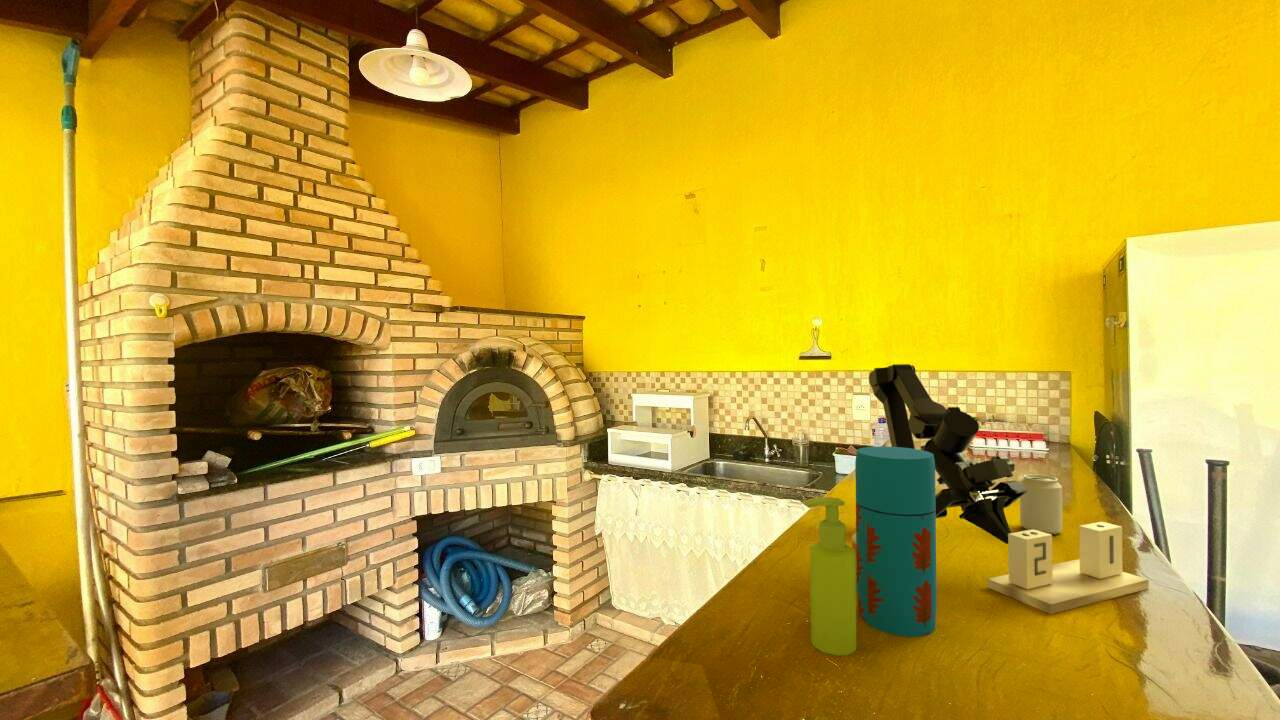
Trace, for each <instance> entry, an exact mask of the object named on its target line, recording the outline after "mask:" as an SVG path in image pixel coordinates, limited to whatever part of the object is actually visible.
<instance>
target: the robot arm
mask: <svg viewBox="0 0 1280 720" xmlns="http://www.w3.org/2000/svg"><path fill="white" fill-rule="evenodd" d="M868 383H869V386H870V387H871V389H872V392H873V396H875V398H876V399H877V400H878V401H879V402H880V403H881V404H882V406H883V410H884V415H885V421H886V425H887V426H886V427H887V429H888V430H887V431H888V435H889V440H890V445H891V446H890V447H902V448H911V449H916V447H915V443H914V438H916V440H917V439H918V440H927V441H926V443H925V445H921V446H920V450H923V451H927V452H930V453H932V454H933V455H934V461H935V473H937V475H938V476H939V478H938V477H937V479H936V481H937V482H938V484H939V485H946V486H947V488H943V489H941V490H940V491H938V492H937V493H936V494H935V496H936V519H942V518H945V517H947V515H948V509H949V508H956V507H960V510H961V511H962V513H960V515H958V517H959V518H960V520H963V519H964V520H966V522H968V523H970V524H973V525H974V526H976V527H978V528H980V529H981V530H983V531H985V532H986V533H988V534H990V535H991V536H993V537H995V538H996V539H998V540H999V541H1001V542H1002V543H1003V544H1006V545H1008V534H1010V533H1012V531H1011V529H1010V526H1009V523H1008V520H1007V518H1006V514H1005V509H1006V508H1008V507H1010V506H1011V505H1012V504H1013V503H1015V502H1016V501H1017V500H1020V497H1021V496H1023V495H1024V494H1025V493H1027V492H1028V490H1027V489H1026V488H1025V487H1024V486H1023V484H1022V483H1021V482H1020V481H1019V480H1018V481H1017V480H1014V479H1013V480H1006V481H1000V482H998V483H997V482H996V480H1000V479H1004V478H1011V477H1014V474H1013V473H1014V471H1015V470H1016V468H1015V466H1016V464H1015V463H1014V462H1013V461H1012V460H1011V459H1010V458H1009V457H1008V456H1006V454H999V455H997V456H993V457H991V458H990V459H988V460H984V461H981V462H977V461H975V460H969V459H968V458H967V457H966V456H965V454H963V452H965V451H966V450H967V449H968V447H969V445H970V444H971V443H972V441H973V440H974V439H975V437H976V435H977V433H979V430H980V425H979V422H978V420H977V419H975V418H974V417H973V416H972V415H970V414H969V413H966V412H964V411H962V410H961V407H959V406H948V407H947V408H946V407H945V406H944V405H943V404H940V403H938V402H936V401H934V400H933V399H932V397H931V396H930V394H929V393H928V391H927V389H926V388H925V386H924V385H923V383H922V382H921V380H920V378H919V376H918V375H917V374H916V367H915V365H911V364H910V363H909V364H908V363H904V364H903V363H901V364H899V363H898V364H897V363H896V364H895V363H894V364H891V365H888V366H885V367H874V369H873V370H872V371H870V373H869V375H868ZM907 409H908V411H909V414H910V415H909V416H908V411H907ZM996 483H997V484H996ZM995 484H996V485H995ZM994 485H995V486H994ZM993 486H994V487H993ZM991 487H993V488H991ZM990 488H991V489H990Z"/></svg>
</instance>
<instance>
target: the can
mask: <svg viewBox="0 0 1280 720" xmlns="http://www.w3.org/2000/svg"><path fill="white" fill-rule="evenodd" d="M1022 477H1023V478H1022V480H1020V481H1019V482H1021V483H1022V484H1023V486H1024V487H1025V488H1026V489H1027V490H1028V492H1027V493H1025V494H1024V495H1023V496H1021V497H1020V498H1019V515H1020V516H1019V524H1020V525H1021V526H1022V527H1023V528H1024V530H1026V529H1027V530H1032V529H1034V530H1037V531H1041V532H1044V533H1048V534H1054V535H1057V534H1058V533H1060V532H1062V531H1063V487H1062V485H1061V484H1060V483H1059V482H1058V481H1059V479H1058V478H1057V477H1056V476H1049V475H1045V474H1029V473H1028V474H1024V475H1023V476H1022Z"/></svg>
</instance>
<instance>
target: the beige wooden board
mask: <svg viewBox="0 0 1280 720" xmlns="http://www.w3.org/2000/svg"><path fill="white" fill-rule="evenodd" d="M1052 581H1053V583H1052V584H1048V585H1043V586H1039V587H1035V588H1031V589H1025V588H1023V587H1020V586H1018V585H1015V584H1013V583H1010V582H1009V573H1008V574H1003V575H999V576H994V577H990V578H987V588H989V589H991V590H993V591H996V592H998V593H1000V594H1003V595H1005V596H1007V597H1010V598H1012V599H1014V600H1016V601H1019V602H1021V603H1023V604H1026V605H1029V606H1030V607H1033V608H1036V609H1038V610H1040V611H1042V612H1045V613H1046V614H1050V615H1053V614H1056V613H1057V614H1058V613H1060V612H1061V613H1062V612H1064V611H1069V610H1072V609H1076V608H1079V607H1083V606H1087V605H1092V604H1095V603H1099V602H1104V601H1107V600H1110V599H1114V598H1119V597H1122V596H1125V595H1126V596H1127V595H1129V594H1133V593H1137V592H1141V591H1145V590H1149V586H1150V585H1149V584H1150V582H1149V579H1147V578H1144V577H1141V576H1137V575H1136V574H1131V573H1128V572H1125V571H1123V573H1122V574H1118V575H1114V576H1110V577H1106V578H1101V579H1099V578H1096V577H1093V576H1090V575H1087V574H1084V573H1081V572H1080V558H1077V559H1073V560H1068V561H1064V562H1059V563H1054V564H1052Z"/></svg>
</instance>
